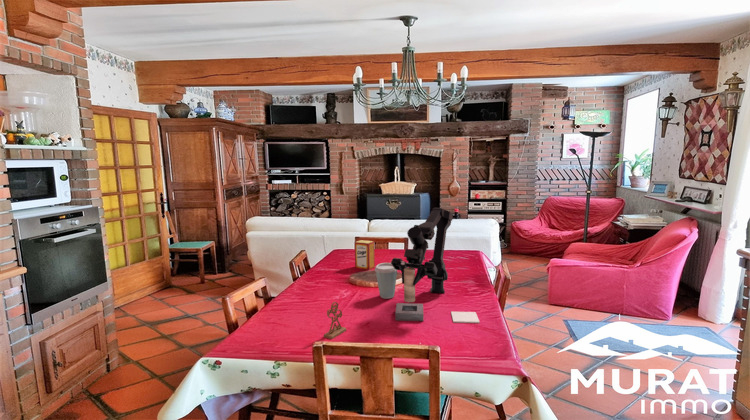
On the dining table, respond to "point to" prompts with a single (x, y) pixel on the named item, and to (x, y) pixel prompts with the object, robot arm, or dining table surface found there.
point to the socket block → (409, 312)
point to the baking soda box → (364, 255)
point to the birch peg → (409, 285)
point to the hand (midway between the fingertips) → (408, 284)
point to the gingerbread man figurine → (338, 329)
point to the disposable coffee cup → (386, 279)
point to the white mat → (465, 317)
